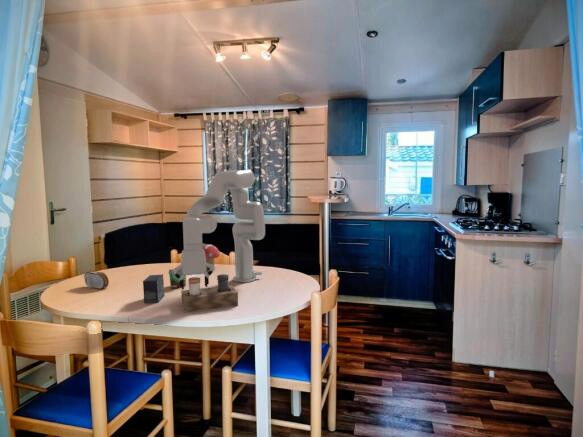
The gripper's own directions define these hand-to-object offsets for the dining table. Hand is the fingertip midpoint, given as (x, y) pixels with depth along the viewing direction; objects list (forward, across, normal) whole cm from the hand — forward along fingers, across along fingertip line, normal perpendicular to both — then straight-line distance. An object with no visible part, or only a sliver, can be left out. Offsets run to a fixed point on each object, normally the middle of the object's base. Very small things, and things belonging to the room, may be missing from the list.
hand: (194, 287), depth 153 cm
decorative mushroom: (+8, -16, -68) cm, 70 cm away
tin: (+9, +43, -49) cm, 66 cm away
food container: (+9, +3, -35) cm, 36 cm away
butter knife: (+9, -34, -11) cm, 37 cm away
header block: (+8, -6, 0) cm, 10 cm away
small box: (+9, +16, -17) cm, 25 cm away
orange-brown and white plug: (+8, 0, 0) cm, 8 cm away
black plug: (+8, -12, 0) cm, 15 cm away
